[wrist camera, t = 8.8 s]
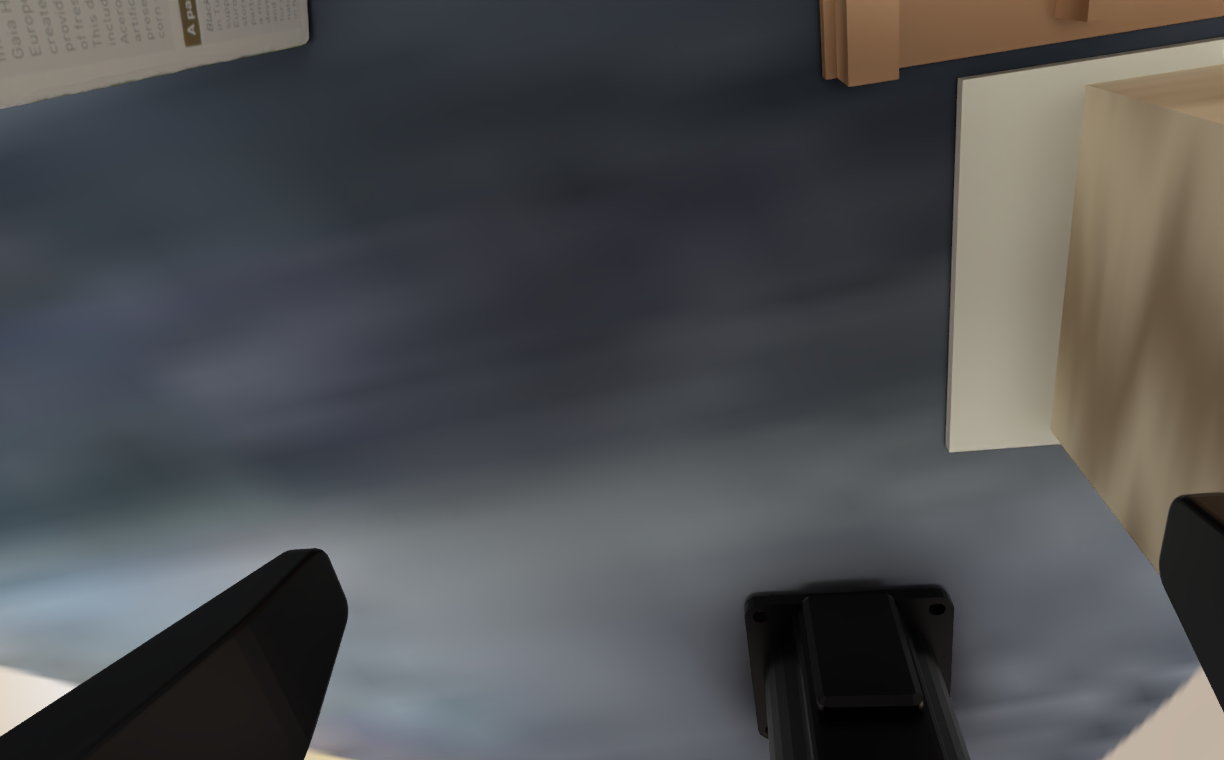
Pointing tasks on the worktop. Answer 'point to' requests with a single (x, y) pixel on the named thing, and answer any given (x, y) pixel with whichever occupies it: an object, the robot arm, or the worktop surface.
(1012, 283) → the cream rectangular plate
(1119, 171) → the birch board
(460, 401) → the worktop surface
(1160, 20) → the rack
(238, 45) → the syrup box
